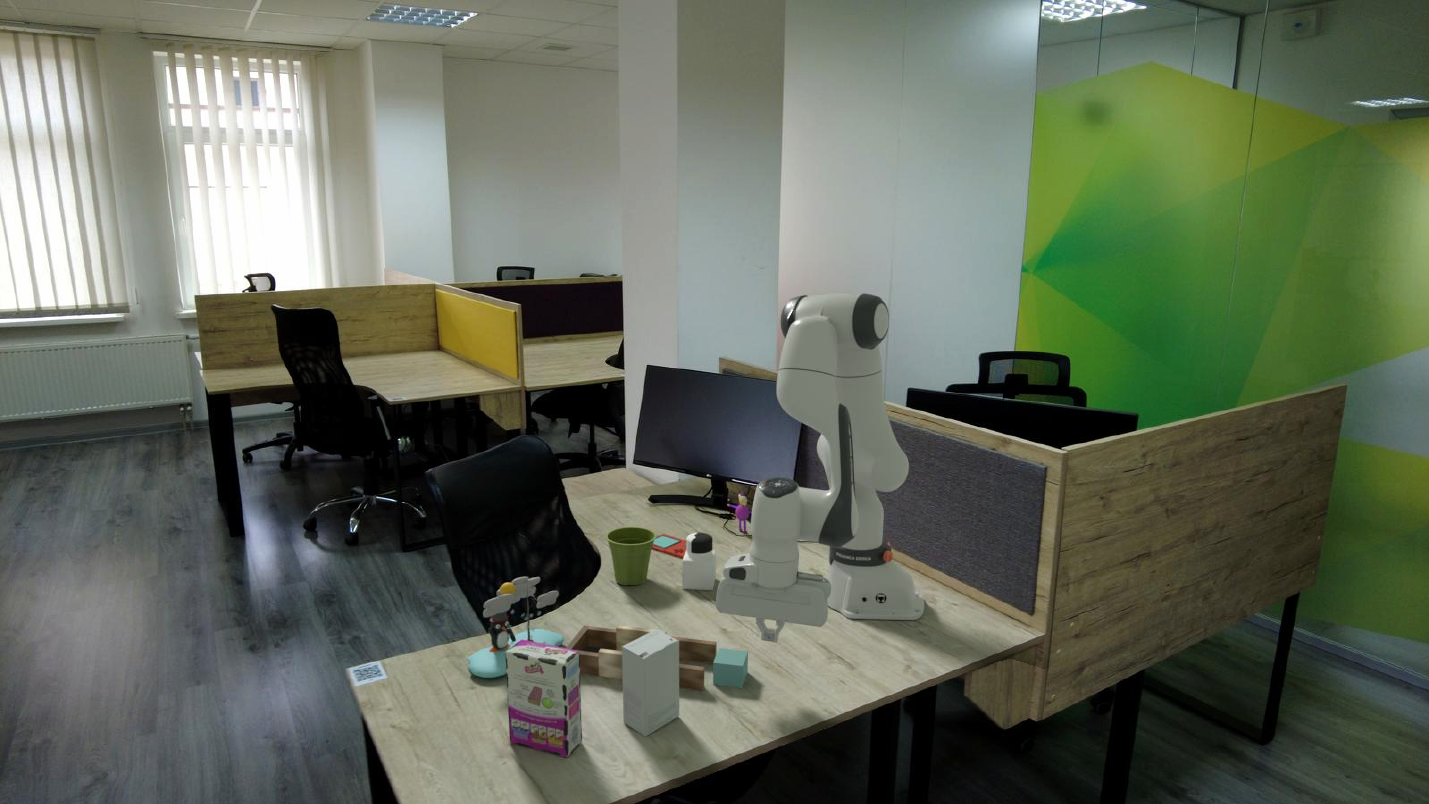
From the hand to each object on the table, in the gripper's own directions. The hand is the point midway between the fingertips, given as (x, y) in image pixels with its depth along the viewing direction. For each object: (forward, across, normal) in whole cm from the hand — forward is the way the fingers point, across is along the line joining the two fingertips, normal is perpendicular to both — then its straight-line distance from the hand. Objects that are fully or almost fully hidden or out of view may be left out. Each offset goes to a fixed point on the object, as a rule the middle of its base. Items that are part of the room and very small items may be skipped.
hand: (769, 640), depth 155 cm
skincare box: (+10, +17, +16) cm, 26 cm away
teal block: (+9, +7, 0) cm, 12 cm away
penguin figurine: (+10, +49, +3) cm, 50 cm away
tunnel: (+9, +25, 0) cm, 27 cm away
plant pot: (+9, +40, -37) cm, 55 cm away
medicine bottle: (+9, +24, -39) cm, 47 cm away
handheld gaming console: (+9, +36, -59) cm, 70 cm away
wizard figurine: (+8, +21, -74) cm, 78 cm away
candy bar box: (+10, +32, +27) cm, 43 cm away
